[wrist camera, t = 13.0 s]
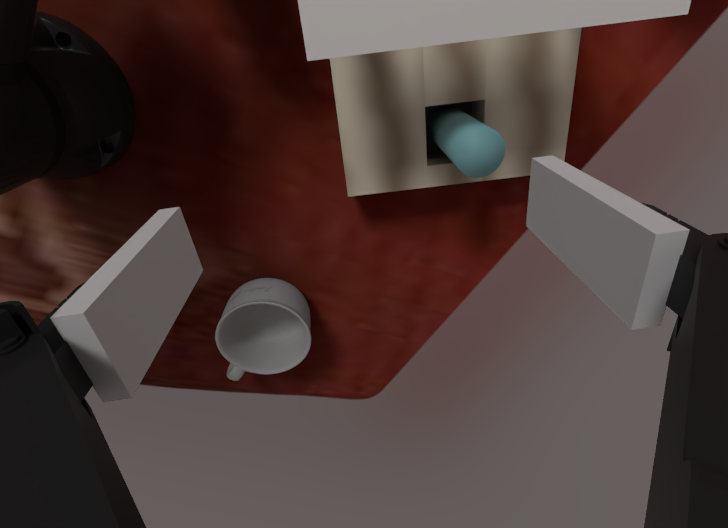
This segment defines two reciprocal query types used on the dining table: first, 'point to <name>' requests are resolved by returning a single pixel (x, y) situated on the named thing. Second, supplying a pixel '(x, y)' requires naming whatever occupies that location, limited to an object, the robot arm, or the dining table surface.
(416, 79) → the socket block
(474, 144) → the peg
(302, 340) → the teacup
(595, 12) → the grey piece
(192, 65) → the dining table surface
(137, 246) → the robot arm
